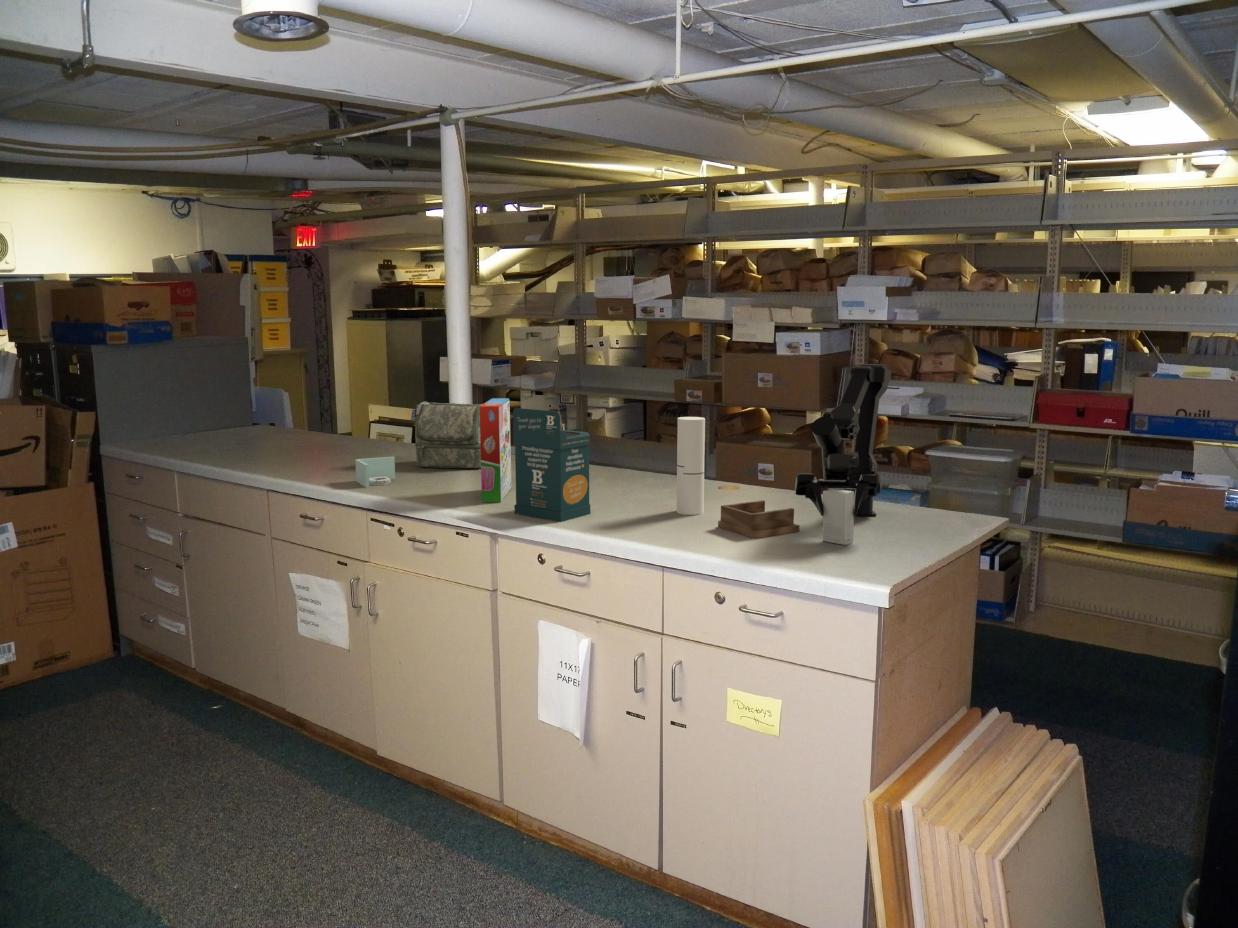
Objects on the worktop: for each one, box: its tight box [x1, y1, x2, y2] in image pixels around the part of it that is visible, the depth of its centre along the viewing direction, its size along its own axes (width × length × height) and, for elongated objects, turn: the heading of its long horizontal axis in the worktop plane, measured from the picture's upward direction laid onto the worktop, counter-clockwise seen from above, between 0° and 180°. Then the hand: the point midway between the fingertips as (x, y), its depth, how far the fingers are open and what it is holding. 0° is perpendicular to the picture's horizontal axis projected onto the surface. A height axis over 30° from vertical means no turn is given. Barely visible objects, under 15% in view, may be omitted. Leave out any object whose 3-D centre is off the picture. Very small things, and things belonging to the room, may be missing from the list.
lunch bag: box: [410, 400, 483, 470], centre depth 323 cm, size 26×18×22 cm
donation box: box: [512, 407, 591, 523], centre depth 247 cm, size 16×16×28 cm
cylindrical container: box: [676, 416, 706, 516], centre depth 248 cm, size 7×7×25 cm
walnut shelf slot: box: [717, 499, 801, 539], centre depth 230 cm, size 14×14×6 cm
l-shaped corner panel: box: [354, 456, 396, 489], centre depth 291 cm, size 12×12×8 cm
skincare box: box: [822, 488, 855, 546], centre depth 217 cm, size 6×4×12 cm
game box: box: [480, 397, 512, 504], centre depth 270 cm, size 21×6×27 cm, turn 178°
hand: (838, 515), depth 215 cm, fingers closed on skincare box, 7 cm apart
